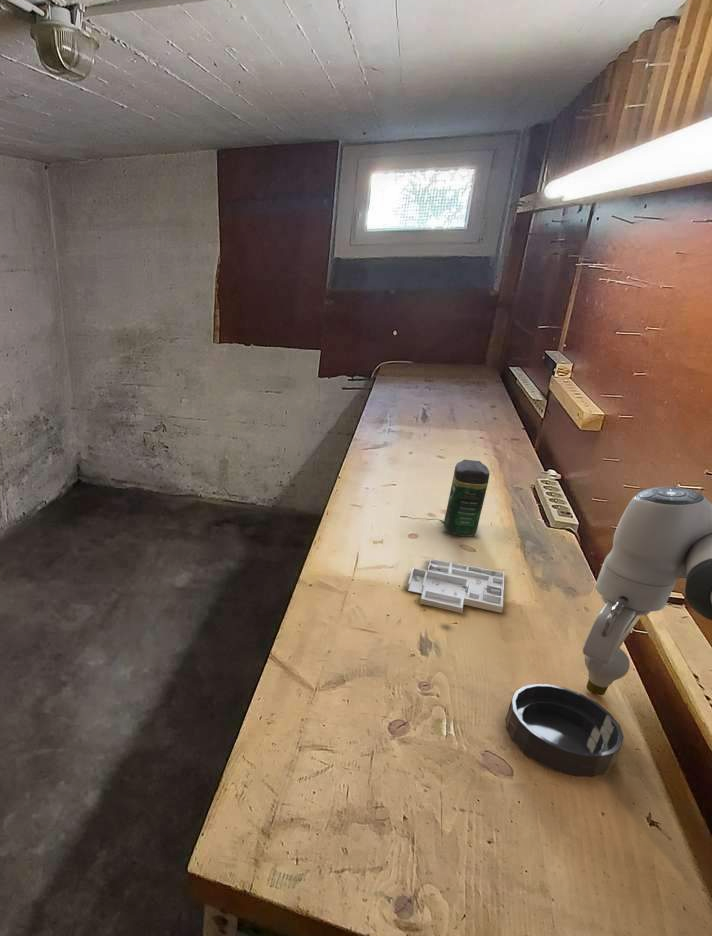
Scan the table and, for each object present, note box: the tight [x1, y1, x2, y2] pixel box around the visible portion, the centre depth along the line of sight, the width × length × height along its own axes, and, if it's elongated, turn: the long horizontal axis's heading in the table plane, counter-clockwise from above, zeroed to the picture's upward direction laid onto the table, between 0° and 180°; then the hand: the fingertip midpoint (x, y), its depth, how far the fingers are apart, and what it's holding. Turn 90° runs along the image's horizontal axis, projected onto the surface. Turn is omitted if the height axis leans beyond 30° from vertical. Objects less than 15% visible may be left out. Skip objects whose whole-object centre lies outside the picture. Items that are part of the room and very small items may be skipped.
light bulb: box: [584, 647, 631, 696], centre depth 94 cm, size 6×6×10 cm
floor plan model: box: [406, 558, 505, 614], centre depth 122 cm, size 19×25×2 cm
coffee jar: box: [443, 459, 491, 537], centre depth 145 cm, size 10×8×19 cm
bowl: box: [504, 683, 625, 778], centre depth 86 cm, size 14×14×5 cm
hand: (603, 655), depth 93 cm, fingers open, 8 cm apart
